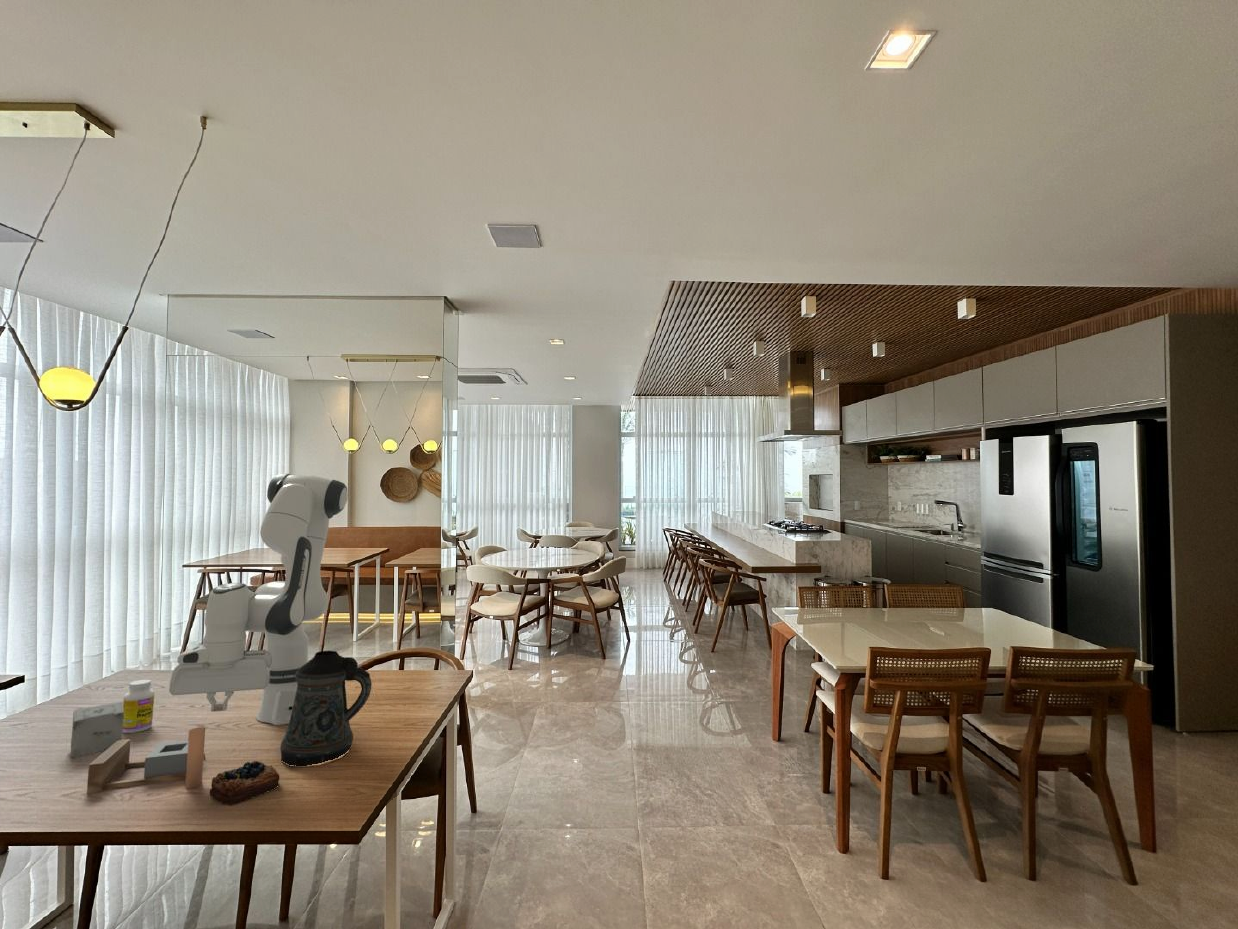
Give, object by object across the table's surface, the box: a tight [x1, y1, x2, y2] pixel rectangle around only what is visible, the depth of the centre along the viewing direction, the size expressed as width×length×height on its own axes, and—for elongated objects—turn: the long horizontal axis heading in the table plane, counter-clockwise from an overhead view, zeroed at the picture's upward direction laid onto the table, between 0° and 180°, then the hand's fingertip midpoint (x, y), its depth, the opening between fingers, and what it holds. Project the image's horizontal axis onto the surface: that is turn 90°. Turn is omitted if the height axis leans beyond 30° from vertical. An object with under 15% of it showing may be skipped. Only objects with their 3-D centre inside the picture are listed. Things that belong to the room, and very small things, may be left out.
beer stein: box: [279, 650, 372, 766], centre depth 150 cm, size 16×19×25 cm
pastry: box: [209, 760, 280, 806], centre depth 129 cm, size 11×12×6 cm
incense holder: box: [69, 701, 124, 759], centre depth 149 cm, size 10×8×10 cm
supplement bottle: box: [122, 679, 155, 734], centre depth 163 cm, size 7×7×13 cm
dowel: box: [185, 726, 206, 789], centre depth 131 cm, size 3×3×12 cm
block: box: [143, 739, 188, 778], centre depth 138 cm, size 8×9×5 cm
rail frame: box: [86, 738, 206, 794], centre depth 136 cm, size 18×14×6 cm
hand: (219, 710), depth 141 cm, fingers closed
